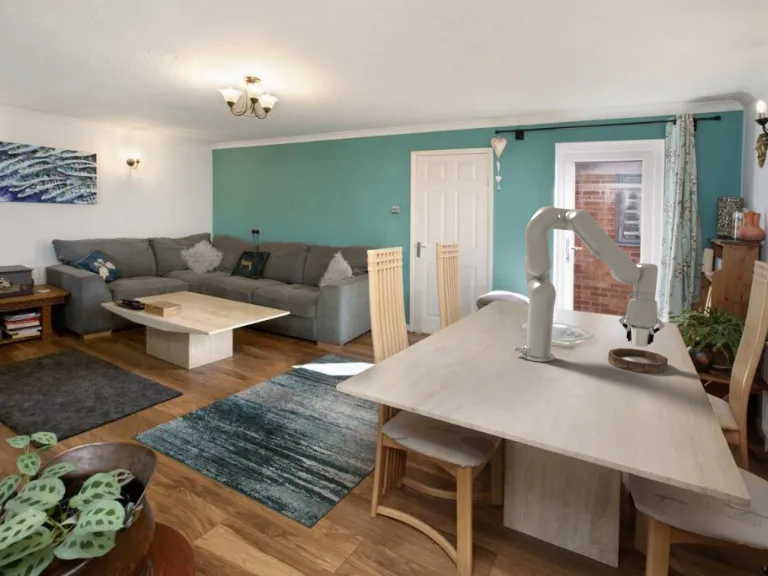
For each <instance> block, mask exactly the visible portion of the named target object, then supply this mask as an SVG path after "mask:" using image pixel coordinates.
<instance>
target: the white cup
mask: <svg viewBox="0 0 768 576" xmlns="http://www.w3.org/2000/svg"><path fill="white" fill-rule="evenodd" d="M649 334H650V330H649V328H648V327H641V326H632V327H631V341H630V343H631V345H632V346H635V347H639V348H640V347H642V348H643V347H645V348H646V347H648V346H649V344H648V338H649Z"/></svg>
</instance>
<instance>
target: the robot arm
mask: <svg viewBox="0 0 768 576" xmlns="http://www.w3.org/2000/svg"><path fill="white" fill-rule="evenodd" d="M551 230H559V231H572V232H573V233H574V235H576V237H577V238H578V239H579V240H580V241H581V243H583V245H584V246H585V248H586V249H588V251H589V252H590V253H591V254H592V255H594V256H595V257H597V258H598V259H600V260H601V261H602V262H603V263H604V264H605V265H606V266H607V267H608V268H609V269H610V275H611V277H612V278H613V279H614V280H615V281H617V282H620V283H621V284H624V285H633V286H632V287H633V288H632V291H628V293H627V295H628V296H630V297H631V298H629V300H628V304H627V308H626V314H625V315H624V316H621V317H620V318H619V319H618V322H619V323H620V324H621V325H622V327H623V328H624V330H625V331H626V339H627V342H631V327H632V326H641V327H648V328H649V330H650V334H649V338H648V346H649V345H651V344H652V343H654V340H655V339H654V338H655V334H657V332H659V331H661V330H662V329H664V328H665V326H666V324H665V323H664V322H663V321H662V320H661V319H660V318H659V317H658V313H659V311H658V308H659V307H658V301H657V300H656V292H657V281H658V274H659V273H658V272H659V268H658V267H659V266H658V265H657V264H654V263H635V262H634V260H632V259H631V257H630V256H629V255H628V254H627V253H626V252H625V251H624V250H623V249H622V248H621V247H620V246H619V245H618V243H616V242H615V240H613V238H611V236H609V235H608V233H607V232H606V231H605V230H604V229H603V227H602V226H601V225H600V224H599V223H598V222H597V220H596V219H595V218H594V217H593V216H592V215H591V213H590V212H589V211H588V210H585V209H581V208H579V209H578V208H577V209H575V208H573V209H571V208H558V207H556V206H552V205H547V206H546V205H545V206H542V207H540V208H538V209H537V210H536V212H535V213H534V215H533V216H532V217H531V218H530V220H529V222H528V223H527V225H526V228H525V230H524V231H525V235H524V243H525V255H526V256H525V258H524V262H523V263H524V264H523V265H524V273H525V274H524V275H525V282H526V288H527V293H528V296H529V302H528V310H527V327H526V343H524V344H523V346H513V352H518V354H519V353H520V354H521V358H524V359H526V360H528V361H534V362H539V363H540V362H541V363H545V362H546V363H548V362H552V361H554V360H555V355H554V354H553V353H552V351H551V350H552V339H553V327H554V326H553V325H554V312H555V311H554V310H555V304H556V298H557V291H556V288H555V286H554V284H553V283H552V282H551V275H550V271H551V269H552V260H551V255H550V248H549V234H550V232H551ZM657 324H658V327H656V325H657Z"/></svg>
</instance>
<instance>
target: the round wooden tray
mask: <svg viewBox="0 0 768 576" xmlns="http://www.w3.org/2000/svg"><path fill="white" fill-rule="evenodd" d="M607 358H608V359H607V362H608V363H609V364H610V365H611V366H613V367H615V368H617V369H618V368H619V369H622V370H625V371H629V372H634V373H641V372H642V373H641V374H660V373H661V372H662V373H665V372H667V370H668V362H669V359H668V357H666V356H664V355H662V354H659V353H657V352H653V351H649V350H645V349H644V350H643V349H638V348H637V349H636V348H628V347H627V348H625V347H623V348H622V347H618V348H612V349H609V351H608V356H607ZM664 371H665V372H664Z"/></svg>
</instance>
